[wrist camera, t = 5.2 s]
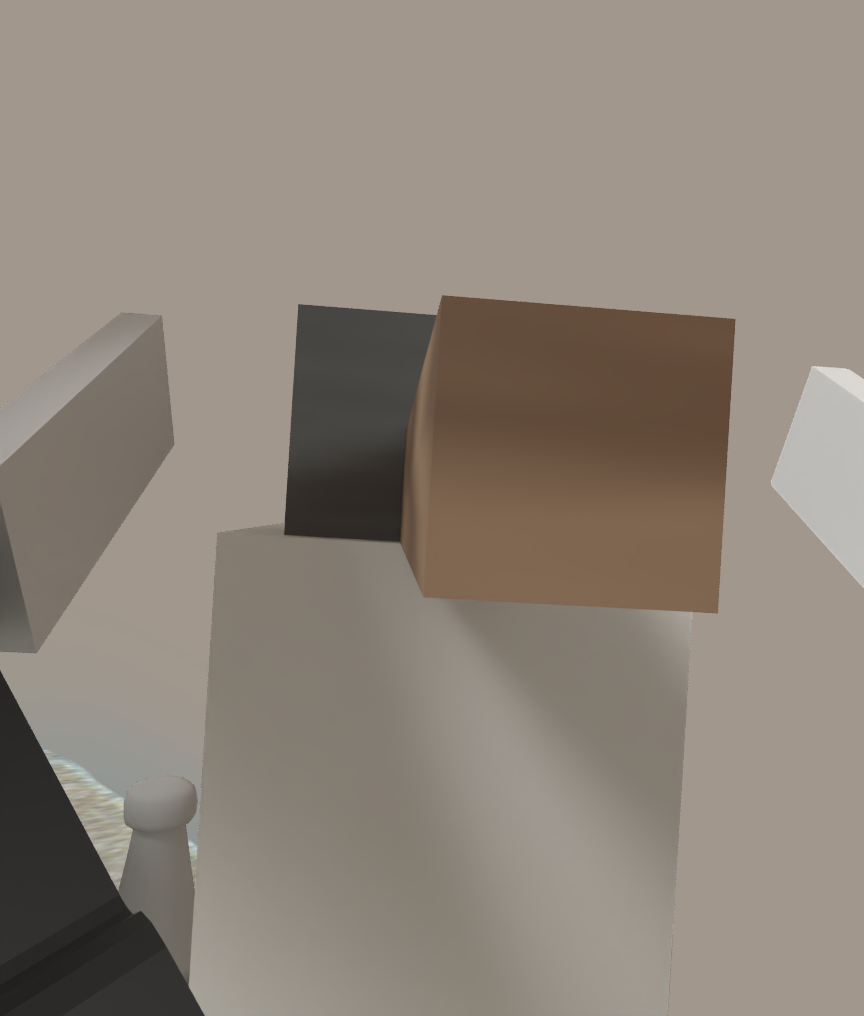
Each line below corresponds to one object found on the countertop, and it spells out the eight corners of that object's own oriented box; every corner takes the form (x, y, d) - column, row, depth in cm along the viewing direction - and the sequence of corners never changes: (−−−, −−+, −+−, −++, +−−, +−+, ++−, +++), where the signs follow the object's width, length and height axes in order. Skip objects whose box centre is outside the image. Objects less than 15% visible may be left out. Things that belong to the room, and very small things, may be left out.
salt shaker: (181, 952, 50) (193, 760, 50) (212, 1000, 45) (225, 789, 45) (88, 982, 46) (101, 775, 46) (111, 1037, 42) (126, 808, 42)
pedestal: (623, 1744, 19) (695, 561, 19) (139, 1767, 18) (217, 532, 18) (521, 1213, 33) (562, 538, 33) (247, 1213, 32) (290, 522, 32)
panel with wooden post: (996, 628, 8) (1030, 55, 8) (113, 580, 7) (151, -39, 7) (568, 543, 26) (578, 372, 26) (308, 528, 25) (318, 352, 25)
